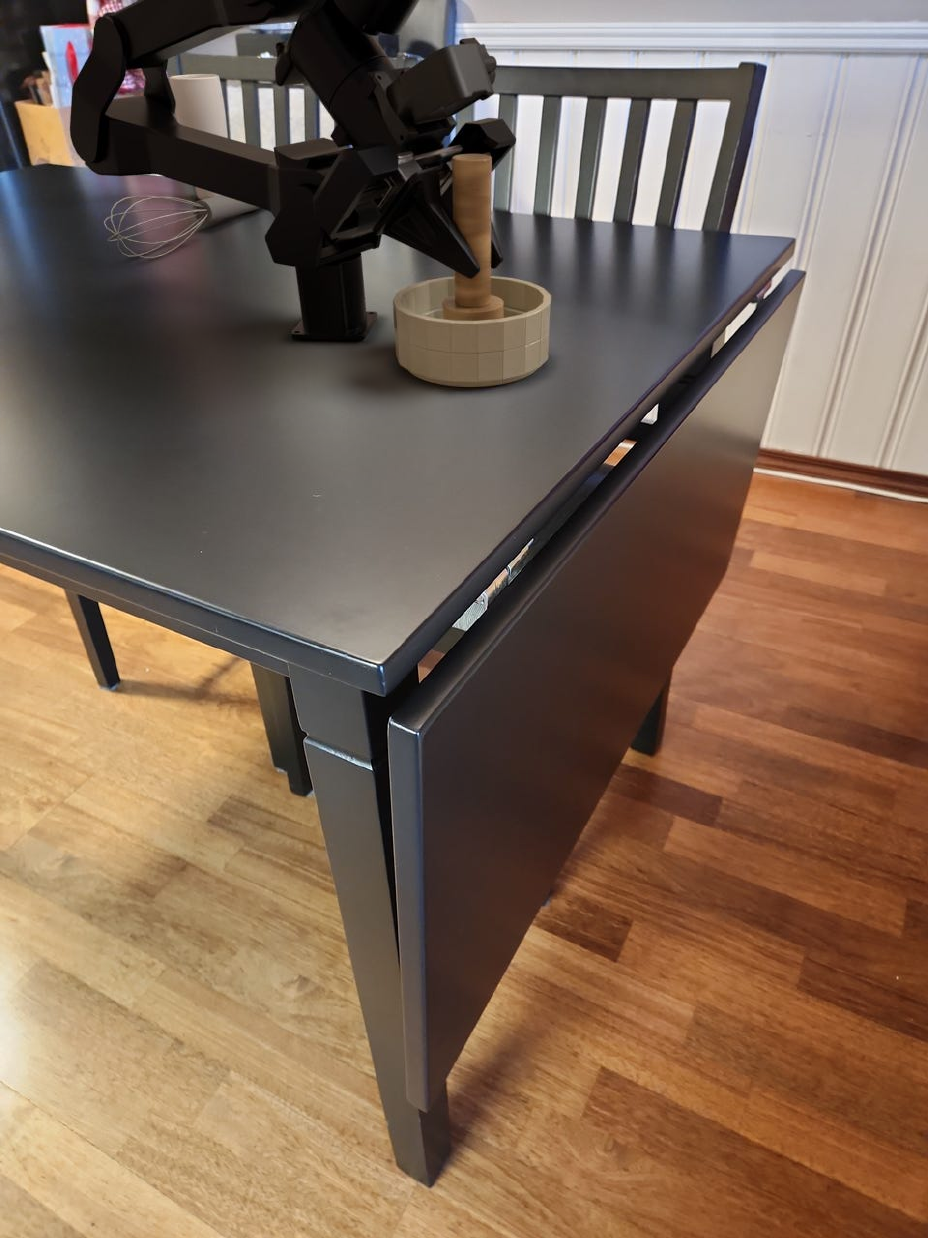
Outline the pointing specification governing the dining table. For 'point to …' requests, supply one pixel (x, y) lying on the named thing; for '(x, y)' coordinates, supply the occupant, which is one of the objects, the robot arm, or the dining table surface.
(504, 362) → the bowl
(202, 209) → the kitchen whisk
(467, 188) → the pestle
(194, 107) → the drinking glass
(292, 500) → the dining table surface
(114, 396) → the dining table surface
